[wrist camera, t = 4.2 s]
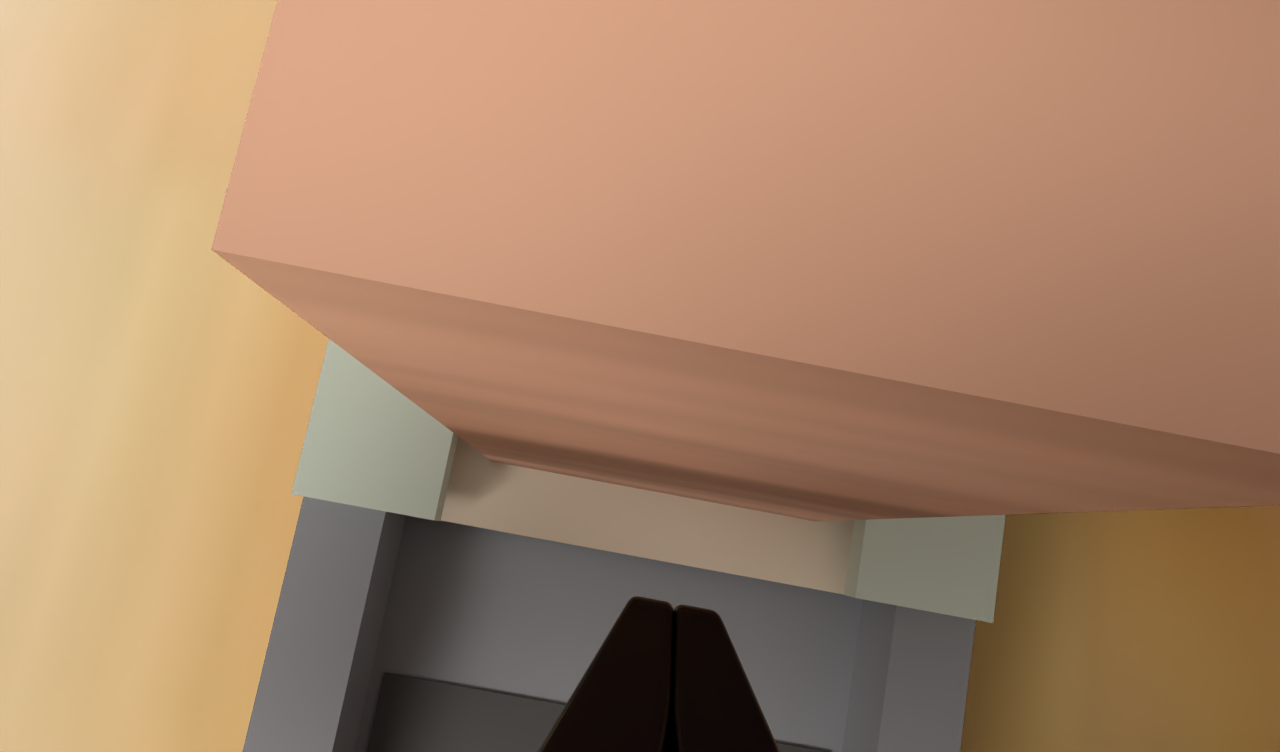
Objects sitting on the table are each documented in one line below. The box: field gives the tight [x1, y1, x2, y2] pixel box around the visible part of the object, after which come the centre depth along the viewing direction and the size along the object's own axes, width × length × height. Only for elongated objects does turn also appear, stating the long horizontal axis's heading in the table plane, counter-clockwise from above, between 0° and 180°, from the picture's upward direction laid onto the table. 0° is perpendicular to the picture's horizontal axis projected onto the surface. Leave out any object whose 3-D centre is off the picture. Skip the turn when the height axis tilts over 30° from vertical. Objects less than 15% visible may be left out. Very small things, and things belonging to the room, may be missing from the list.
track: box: [243, 339, 1006, 752], centre depth 16 cm, size 20×10×4 cm, turn 170°
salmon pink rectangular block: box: [211, 0, 1280, 594], centre depth 10 cm, size 7×7×12 cm
